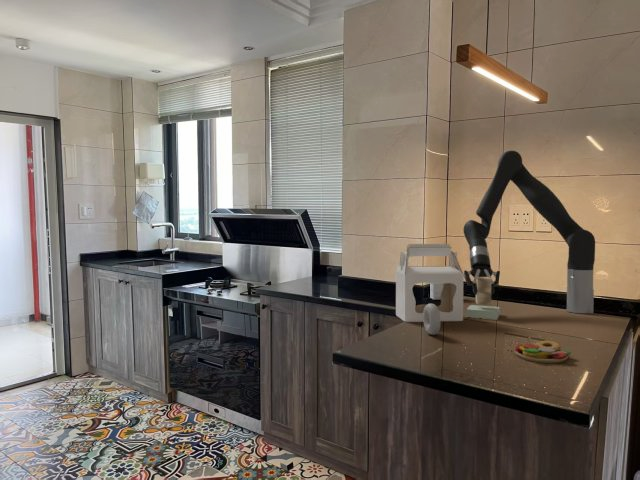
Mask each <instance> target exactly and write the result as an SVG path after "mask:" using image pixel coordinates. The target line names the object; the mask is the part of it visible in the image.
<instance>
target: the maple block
mask: <svg viewBox="0 0 640 480" xmlns="http://www.w3.org/2000/svg"><path fill="white" fill-rule="evenodd" d="M491 278H492V277H491ZM491 278H490V277H476V284H477V291H478V292H477V294H475V303H476V304H477V305H482V306H491V305H492V295H491Z"/></svg>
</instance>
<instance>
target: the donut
mask: <svg viewBox="0 0 640 480" xmlns="http://www.w3.org/2000/svg"><path fill="white" fill-rule="evenodd" d="M425 305H426V306H425V308H424V312H423V322H422V323H423V325H424V329H425V331H426V333H427V334H429V335H431V336H435V335H437V334H438V333H439V331H440V329H441V326H442V325H441V322H442V321H441V318H440V313H439V310H438V308H437V307H438V306H437V305H436V304H434V303H428V304H427V303H426V304H425Z"/></svg>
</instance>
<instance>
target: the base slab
mask: <svg viewBox="0 0 640 480" xmlns="http://www.w3.org/2000/svg"><path fill="white" fill-rule="evenodd" d="M500 315H501V307H499V306H491V305H479V304H477V305H476V304H475V305H474V304H470V305H469V306H467V308H466V309H465V318H467V317H471V318H470V319H479V318H482V319H483V320H493V321H494V320H495V321H497V320H498V319H499V317H500ZM482 319H481V320H482Z"/></svg>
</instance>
